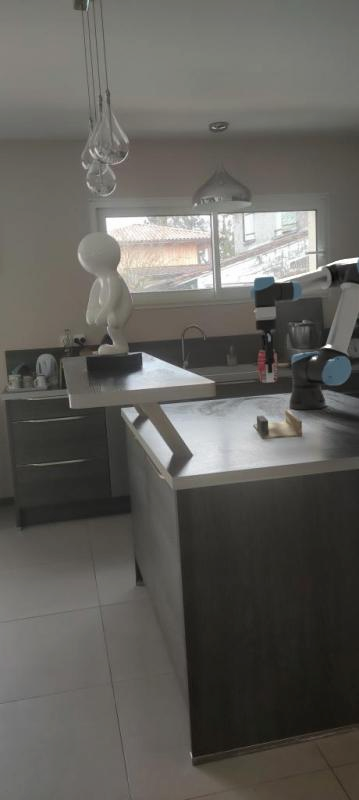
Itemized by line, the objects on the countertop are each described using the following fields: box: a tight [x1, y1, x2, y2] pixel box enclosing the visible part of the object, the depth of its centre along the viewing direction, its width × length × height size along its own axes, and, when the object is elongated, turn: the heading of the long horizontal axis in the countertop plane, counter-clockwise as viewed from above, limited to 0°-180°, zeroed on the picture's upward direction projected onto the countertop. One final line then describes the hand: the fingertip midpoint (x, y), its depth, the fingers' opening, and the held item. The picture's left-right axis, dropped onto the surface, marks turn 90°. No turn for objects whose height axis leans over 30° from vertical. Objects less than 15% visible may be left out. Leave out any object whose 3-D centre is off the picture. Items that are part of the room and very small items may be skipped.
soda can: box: [257, 348, 279, 384], centre depth 218 cm, size 7×7×12 cm
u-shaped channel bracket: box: [253, 409, 303, 440], centre depth 206 cm, size 13×22×6 cm, turn 1°
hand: (268, 380), depth 218 cm, fingers closed on soda can, 7 cm apart
